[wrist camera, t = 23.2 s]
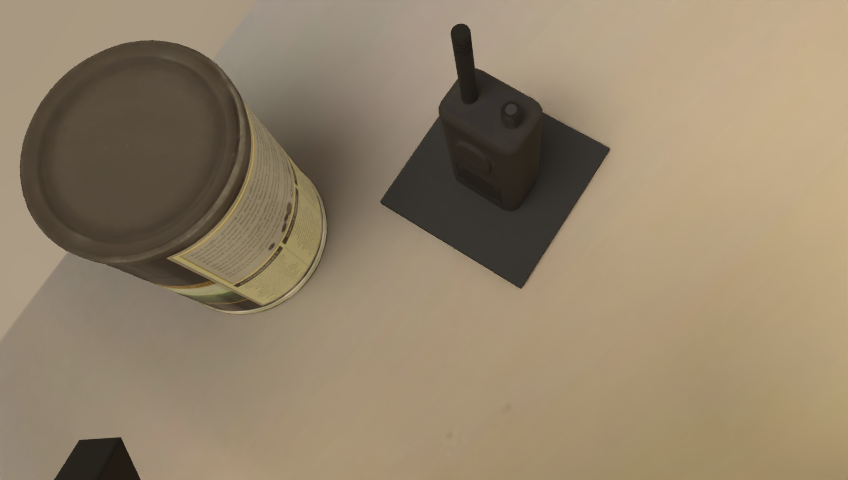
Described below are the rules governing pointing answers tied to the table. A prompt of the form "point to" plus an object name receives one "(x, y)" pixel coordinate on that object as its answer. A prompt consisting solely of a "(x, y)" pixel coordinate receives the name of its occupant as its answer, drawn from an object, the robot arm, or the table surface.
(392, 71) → the table surface
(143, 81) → the coffee can
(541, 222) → the mat
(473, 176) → the walkie-talkie
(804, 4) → the table surface
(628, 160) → the table surface
